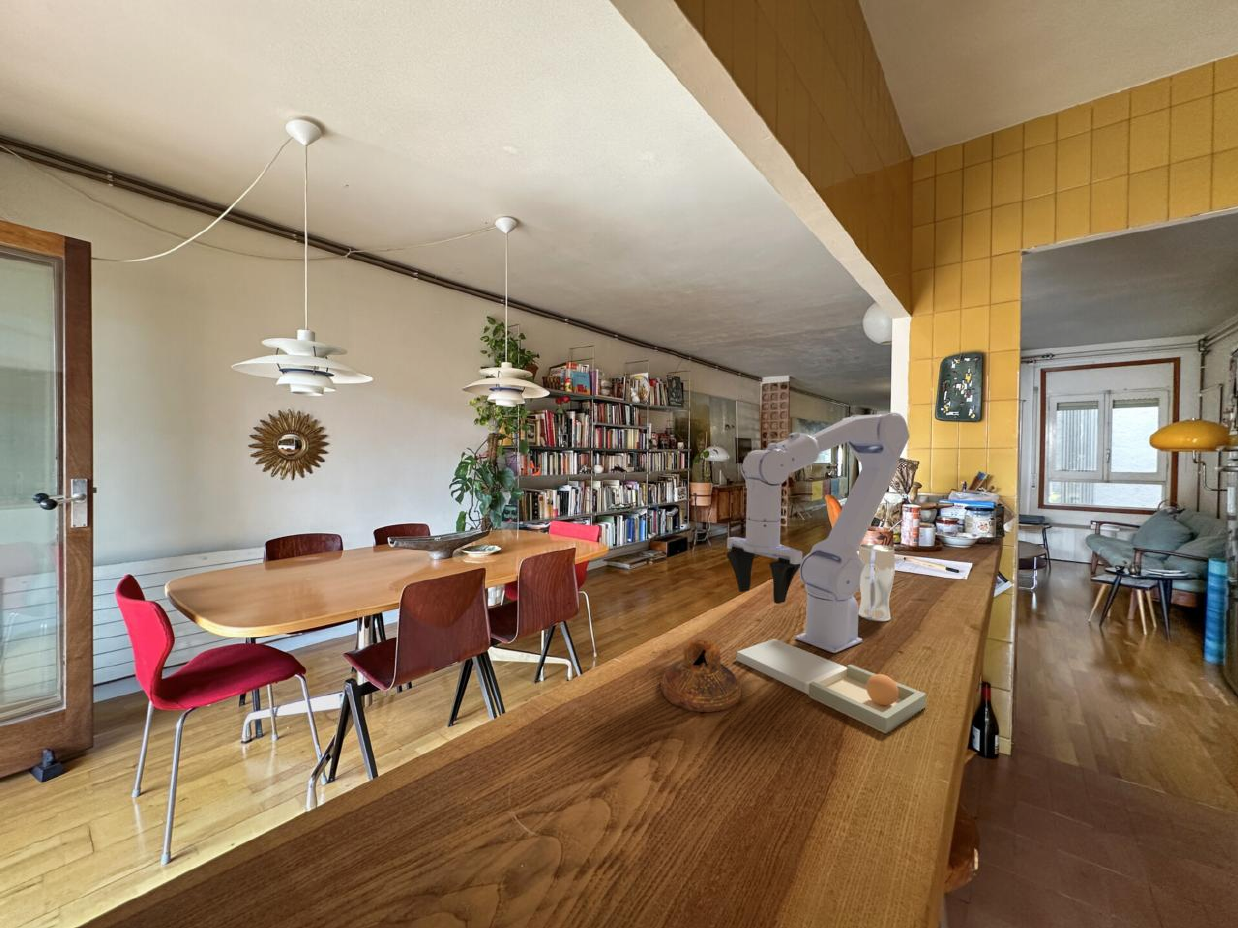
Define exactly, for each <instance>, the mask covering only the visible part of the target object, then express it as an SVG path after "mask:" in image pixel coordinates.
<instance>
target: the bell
mask: <svg viewBox="0 0 1238 928" xmlns="http://www.w3.org/2000/svg"><path fill="white" fill-rule="evenodd" d="M721 658H722V657H721V651H720V649H719V648H718V646H717V644H714V643H713V642H710V641H707V640H704V639H703V640H702V639H697V640H693V641H690V642H688V643H687V645H686V646H685V647H684V649H683V659H679V660H677V661H675V662H673V663H672V664H671V665H669V666H668V668H666V670H665V672H664V673H663V674H662V676H661V683H660V691H661V693H662V695H663V696H664V697H665V699H667V701H669V702H670V704H672V705H674V706H677V707H682V708H683V709H685V710H687V711H691V712H699V713H700V712H702V713H704V712H705V713H712V712H720V711H723V710H727V709H729V708H731V707H733V706H735V705H736V704H737V703H738V702H739V700H740V698H741V696H742V687H741V685H740V682H739V680H738V678H737V676H736V674H735V673H733V671H732V670H730V669H729V668H728V667H727V666H725V665H724V664H721Z"/></svg>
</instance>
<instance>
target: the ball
mask: <svg viewBox="0 0 1238 928" xmlns="http://www.w3.org/2000/svg"><path fill="white" fill-rule="evenodd" d="M875 674H876V675H873V676H871V677H870V678H869V679H868V681H867V684H866V689H867V693H868V695H869V697H870V698H871V699H872V700H873V701H874V702H876V703H878V704H880V705H891V704H893V703H894V702H895V701H896V700H897V698H898V687H897V685H896V683H895V682H896V681H895V682H894V680H893V679H892V678H891V677H889V676H888V675H885V674H881V673H875Z"/></svg>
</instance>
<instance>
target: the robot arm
mask: <svg viewBox="0 0 1238 928" xmlns="http://www.w3.org/2000/svg"><path fill="white" fill-rule="evenodd" d="M910 437H911V436H910V433H909V429H908V424H907V422H906V419H905V418H904V416H903V415H901V414H900V413H898V412H889V413H881V414H880V413H879V414H853V415H851V416H849V417H843V418H842V419H841V420H839V421H838V422H835V423H834V424H832V425H829V426H828V427H825V428H824V429H822V430H820V431H817V432H816V433H814V434H812V435H809V434H806V433H802V432H801V433H800V432H791V433H789V434H788V438H787V439H784V440H781V441H780V442H777V443H776V442H771V443H769V444H767V447H766V448H765V450H764V449H755V450H752V451H750V452H748V453H747V454H746V456H745V457H744V459H743V463H742V464H740V466H739V467H740V474H741V475H742V478H744V480H745V489H746V509H745V511H746V514H745V515H746V517H745V518H746V520H745V522H746V523H745V537H743V538H742V537H738V536H733V537H732V536H731V537H727V539H726V540H727V544H726V545H727V546H726V548H727V549H729V550H730V551H728V552H727V553H726V557H727V559H728V560H729V562H730V564H731V567H732V570H733V572H734V575H735V578H736V583H737V588H738V591H739V592H740V593H744V592H748V591H750V588H751V583H752V582H751V578H752V569H753V568H752V567H753V563H754V558H755V555H759V556H763V557H768V558H771V559H775V560H776V561H771V562H769V569H770V570H771V571H770V572H771V575H772V583H773V586H772V587H773V591H772V593H773V602H774V604H776V605H778V604H782V603H785V602H786V600H787V599H786V598H787V596H788V592H789V589H790V587H791V583H792V581H793V579H794V577H795V576H796V574H797V572H798V575H799V578H800V581H801V582H802V583H803V584H804V590H805V591H806V613H805V614H806V617H805V620H806V621H805V632H803V633H800V634H797V635H796V636H795V639H796V640H799V641H800V642H804V643H806V644H808V645H809V644H810V645H811V646H814V647H817V648H819V649H823V650H825V651H828V652H830V653H832V654H834V653H835V654H836V653H838V652H840V651H841V652H842V651H843V650H845V649H848V648H850V647H852V646H855V645H857V644H860V643H862V642H863V638H861V637H859V636H858V633H859V614H858V612H859V604H858V601H857V600H856V598H855V595H856V593H857V592H858V590H859V589H860V579H861V573H862V571H863V568H864V564H863V562H862V560H861V558H860V557H859V549H860V545H861V544H863V540H864V539H865V537H866V534H867V532H868V531H869V528H870V526H871V524H872V523H873V522H872V521H873V520H874V518H875V516H876V513H877V511H878V510H879V507H880V505H881V504H882V501H883V499H884V498H885V495H886V494H887V490H888V489H889V487H890V485H891V483H892V481H893V479H894V477H895V474H896V472H897V469H898V467H899V466H898V464H899V460H900V457H901V455H902V453H903V451H904V449H905V447H906V445H907V443H908V441H909V439H910ZM846 443H847V445H848V446H849V448H850V451H852V454H853V455H854V457H855V458H856V460H857V461H858V462H859V463H861V467H862V468H861V470H860V471H859V474H858V476H857V478H856V480H855V482H854V484H853V486H852V487H851V490H850V492H849V494H848V496H847V499H846V500H845V502H844V504H843V506H842V508H841V510H840V512H839V514H838V517H837V518H836V520H835V522H834V524H833V526H832V528H831V529H830V533H829V534H828V537H827V538H826V539H824V540H821V541H819V542H817V543H816V544H814V545H813V546H812V548H811V550H810V552H809V553H807V554H806V555H805V556H803V551H802V550H799V549H798V550H797V549H795V548H791V547H790V546H785V545H783V544H781V521H782V520H781V517H782V515H781V513H782V484H783V483H785V482H786V480H787V479H788V478H789V475H790V474H792V473H795V472H797V471H799V470H801V469H803V468H805V467H808V466H810V465H812V464H814V463H815V462H817V460H818V458H819V455H820V453H822V452H825V451H828V450H831V449H833V448H835V447H839V446H841V445H843V444H844V445H845V444H846Z"/></svg>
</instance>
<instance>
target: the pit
mask: <svg viewBox="0 0 1238 928" xmlns="http://www.w3.org/2000/svg"><path fill="white" fill-rule="evenodd" d="M846 667H847V677H845V678H843V679H841V680H838V681H836V682H834V683H832V684H830V685H828V686H826V687H824V686H822V685H820V684H818V683H816V682H811V683H809V695H808V697H809V698H811V699H812V700H814V701H816V702H818V703H821V704H823V705H825V706H827V707H829V708H831V709H832V710H836V712H837V711H838V712H839V713H842V714H843V715H846V716H848V717H850V718H852V719H854V720H856V721H857V722H858V721H859V722H860V723H862V724H865V725H866V726H868V727H870V728H873V729H875V730H877V731H879V732H881V733H883V734H885V735H887V734H889V732H892V731H893V730H894V729H896V728H897V727H899V726H900V725H902V724H903V723H905V722H906V721H908V720H910V719H911V718H912V716H913V717H914V716H916V715H917V714H919V713H920V712H922V711H923V710H925V709H926V708H927V704H926V703H927V693H926V692H923V691H921V690H918V689H914V688H912V687H909V686H907V685H906V684H905V685H904V684H902V683H899V682H897V681H894V680H893V681H894V682H895V683H896V685H897V687H898V698H897V700H896V701H895V702H894V703H893V704H891V705H880V704H878V703H876V702H874V701H873V700H872V699H871V698H870V697H869V695H868V693H867V689H866V684H867V681H868V679H869V678H870V677H871V676H873V675H876V674H877V673H874V672H871V671H869V670H866V669H865V668H864V669H863V668H861V667H860V666H859V667H858V666H856V665H853V664H852V663H851V664H848V665H846ZM924 708H925V709H924ZM922 709H923V710H922ZM921 710H922V711H921ZM919 711H920V712H919ZM918 712H919V713H918ZM915 714H916V715H915ZM909 718H910V719H909Z"/></svg>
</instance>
